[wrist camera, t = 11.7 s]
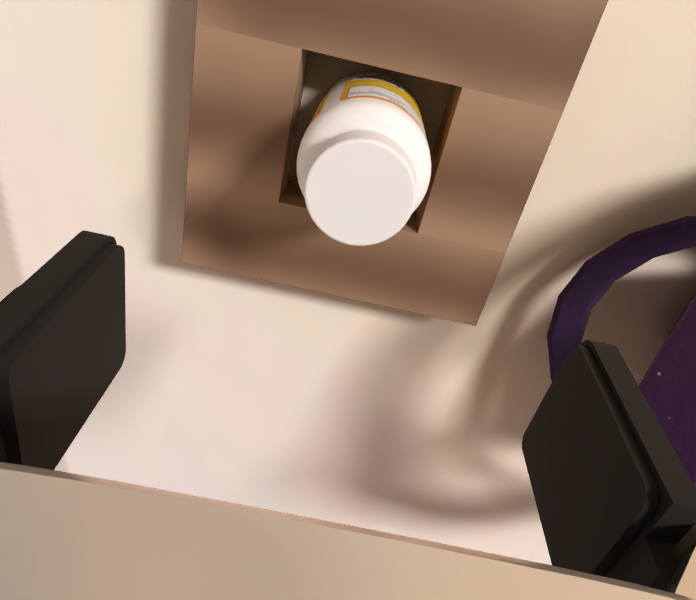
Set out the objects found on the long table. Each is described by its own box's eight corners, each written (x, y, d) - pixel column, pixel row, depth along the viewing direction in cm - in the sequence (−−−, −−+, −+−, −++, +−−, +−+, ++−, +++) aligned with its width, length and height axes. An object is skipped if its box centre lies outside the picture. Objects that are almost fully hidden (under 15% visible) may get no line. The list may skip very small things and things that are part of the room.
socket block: (224, -100, 23) (203, -108, 21) (586, -8, 24) (610, -5, 22) (198, 238, 32) (181, 262, 29) (469, 297, 32) (475, 325, 30)
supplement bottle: (349, 197, 30) (333, 286, 21) (294, 106, 27) (253, 167, 19) (440, 148, 28) (462, 224, 20) (391, 47, 26) (391, 86, 17)
